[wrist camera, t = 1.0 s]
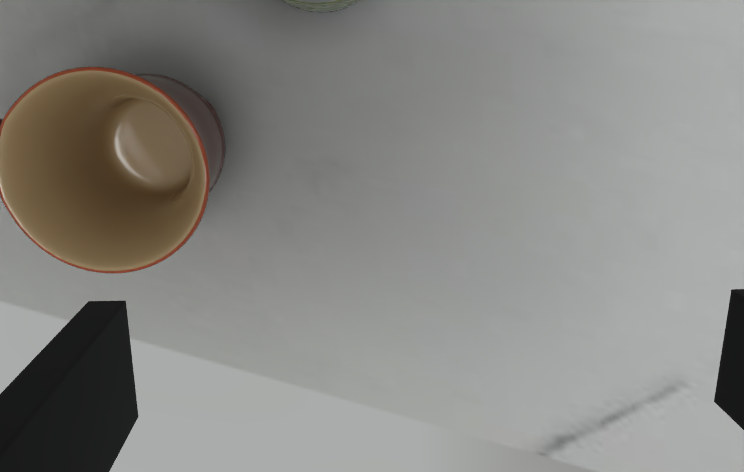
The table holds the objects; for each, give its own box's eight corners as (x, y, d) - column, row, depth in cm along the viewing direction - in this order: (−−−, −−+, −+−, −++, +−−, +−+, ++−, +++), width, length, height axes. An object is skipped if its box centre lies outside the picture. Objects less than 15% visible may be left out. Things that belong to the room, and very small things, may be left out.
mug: (251, 75, 37) (219, 86, 28) (233, 226, 40) (198, 287, 30) (26, 36, 36) (-90, 35, 26) (21, 195, 39) (-88, 247, 29)
